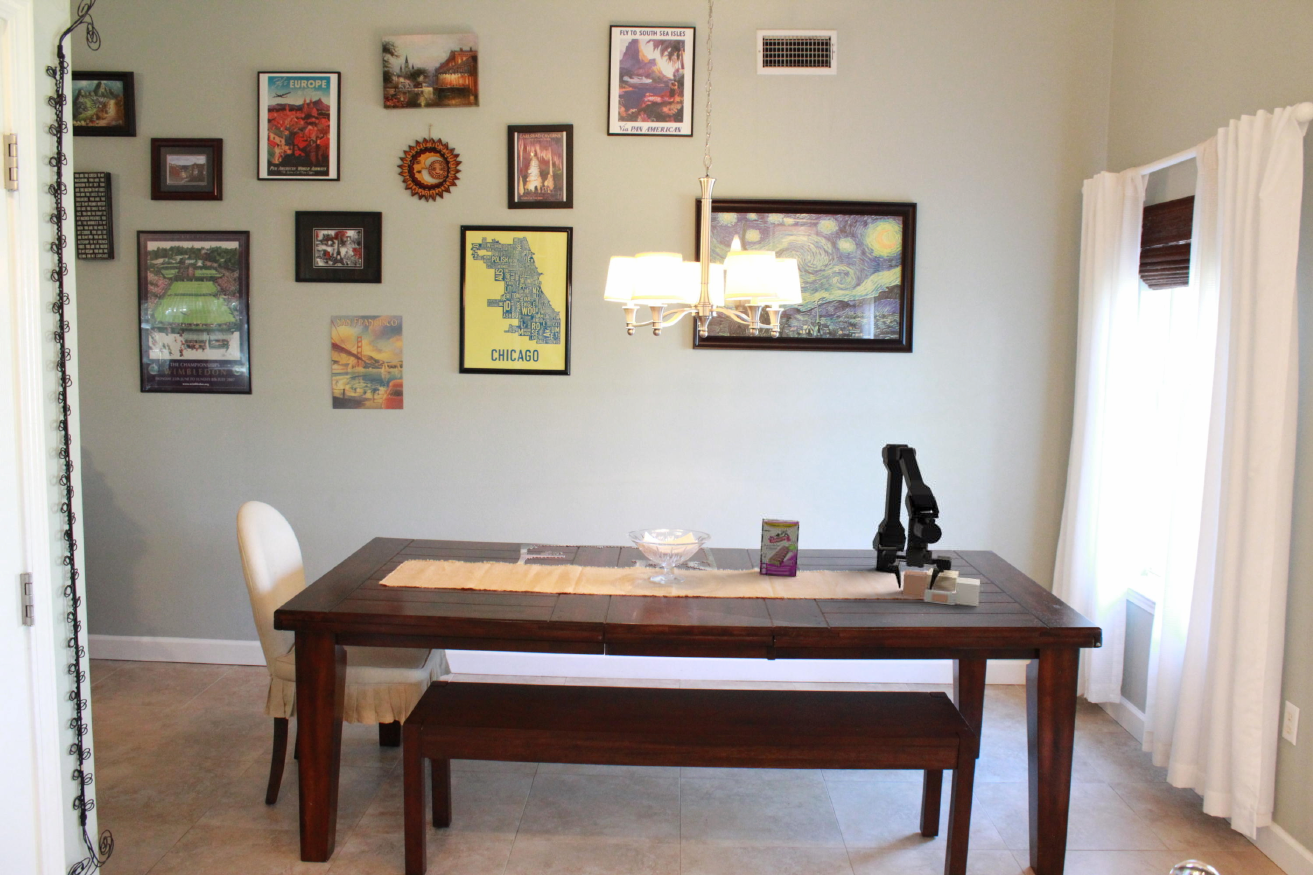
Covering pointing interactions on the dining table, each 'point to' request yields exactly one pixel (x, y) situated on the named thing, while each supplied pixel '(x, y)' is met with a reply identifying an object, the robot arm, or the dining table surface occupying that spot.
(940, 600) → the plinth
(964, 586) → the offwhite cube
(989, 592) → the dining table surface
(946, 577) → the base block
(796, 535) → the candy bar box
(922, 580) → the terracotta cube
